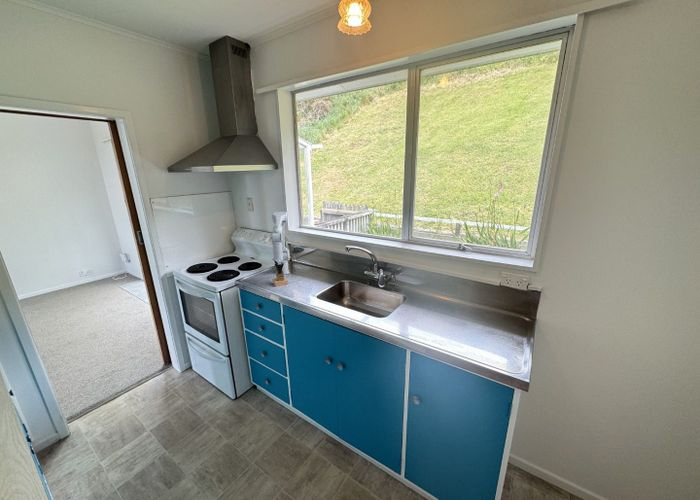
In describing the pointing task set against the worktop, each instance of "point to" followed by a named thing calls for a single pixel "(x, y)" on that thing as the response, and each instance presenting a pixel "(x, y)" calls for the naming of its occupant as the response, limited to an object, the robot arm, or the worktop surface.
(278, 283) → the peach slab
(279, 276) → the walnut block
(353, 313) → the worktop surface
